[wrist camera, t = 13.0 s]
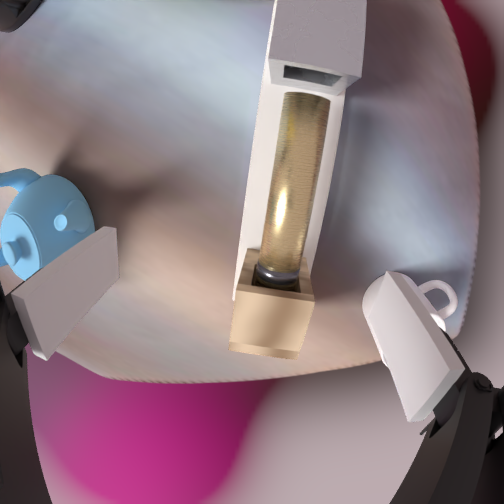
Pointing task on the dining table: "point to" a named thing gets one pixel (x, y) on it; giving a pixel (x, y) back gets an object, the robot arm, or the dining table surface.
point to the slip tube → (292, 189)
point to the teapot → (41, 220)
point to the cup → (419, 291)
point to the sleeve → (318, 44)
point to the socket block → (270, 313)
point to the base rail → (265, 159)
